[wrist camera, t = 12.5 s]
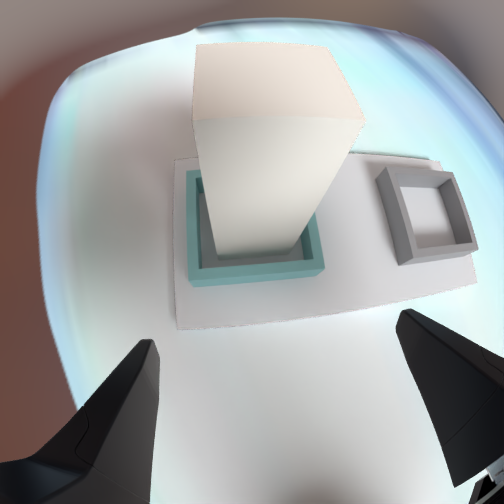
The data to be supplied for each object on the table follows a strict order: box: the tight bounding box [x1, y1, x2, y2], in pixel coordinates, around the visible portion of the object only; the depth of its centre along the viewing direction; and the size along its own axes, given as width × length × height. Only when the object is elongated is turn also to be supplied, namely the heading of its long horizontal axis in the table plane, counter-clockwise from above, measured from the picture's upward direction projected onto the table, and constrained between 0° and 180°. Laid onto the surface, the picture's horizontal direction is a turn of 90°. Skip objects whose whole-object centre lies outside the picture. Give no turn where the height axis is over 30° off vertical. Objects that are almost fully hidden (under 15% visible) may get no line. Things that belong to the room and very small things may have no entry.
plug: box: [192, 42, 366, 260], centre depth 12 cm, size 5×4×12 cm
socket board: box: [173, 153, 478, 330], centre depth 18 cm, size 24×12×3 cm, turn 96°
